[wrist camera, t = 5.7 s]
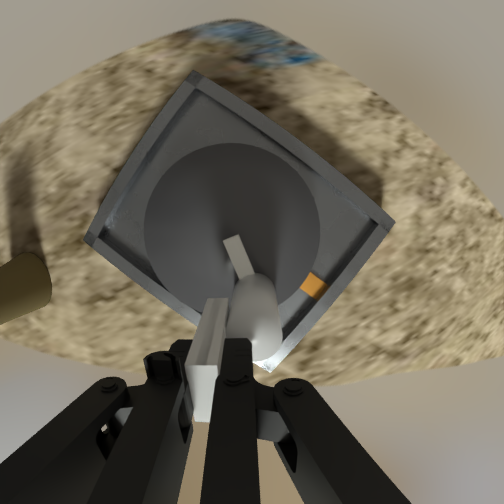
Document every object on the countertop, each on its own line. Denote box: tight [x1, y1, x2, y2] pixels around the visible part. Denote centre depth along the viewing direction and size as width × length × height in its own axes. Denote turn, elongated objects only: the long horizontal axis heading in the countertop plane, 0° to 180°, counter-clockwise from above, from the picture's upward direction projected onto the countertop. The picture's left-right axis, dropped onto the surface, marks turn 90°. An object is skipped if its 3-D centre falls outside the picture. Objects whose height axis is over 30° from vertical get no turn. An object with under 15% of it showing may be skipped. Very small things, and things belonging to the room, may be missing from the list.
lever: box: [144, 143, 320, 362], centre depth 17 cm, size 11×11×9 cm
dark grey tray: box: [83, 70, 395, 373], centre depth 22 cm, size 18×15×3 cm
